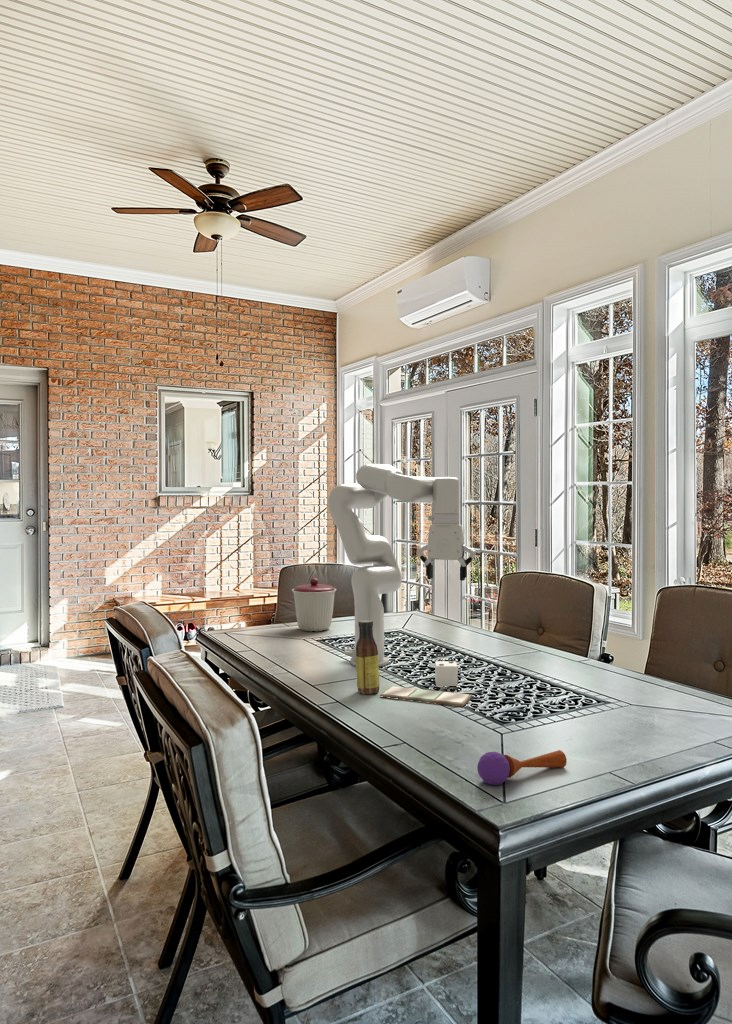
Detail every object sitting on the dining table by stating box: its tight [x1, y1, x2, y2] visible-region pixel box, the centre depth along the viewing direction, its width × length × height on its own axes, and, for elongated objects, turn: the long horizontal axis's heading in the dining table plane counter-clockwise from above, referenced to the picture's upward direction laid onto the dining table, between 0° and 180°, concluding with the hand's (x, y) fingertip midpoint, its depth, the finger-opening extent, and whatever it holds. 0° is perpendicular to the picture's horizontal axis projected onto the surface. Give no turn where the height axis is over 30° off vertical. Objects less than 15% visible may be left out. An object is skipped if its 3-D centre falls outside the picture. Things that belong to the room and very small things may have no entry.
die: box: [434, 660, 459, 688], centre depth 200 cm, size 6×6×6 cm
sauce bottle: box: [355, 620, 380, 695], centre depth 192 cm, size 6×6×20 cm
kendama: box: [477, 749, 567, 786], centre depth 134 cm, size 6×6×20 cm
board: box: [379, 685, 473, 708], centre depth 186 cm, size 23×9×1 cm, turn 68°
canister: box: [291, 577, 337, 632], centre depth 282 cm, size 18×18×21 cm
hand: (446, 579), depth 199 cm, fingers open, 9 cm apart
